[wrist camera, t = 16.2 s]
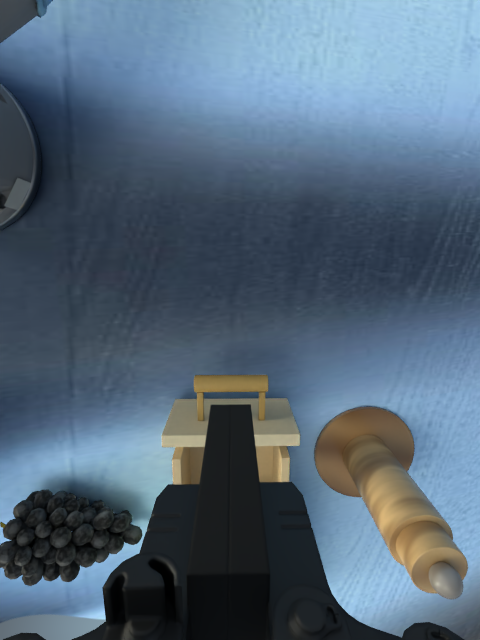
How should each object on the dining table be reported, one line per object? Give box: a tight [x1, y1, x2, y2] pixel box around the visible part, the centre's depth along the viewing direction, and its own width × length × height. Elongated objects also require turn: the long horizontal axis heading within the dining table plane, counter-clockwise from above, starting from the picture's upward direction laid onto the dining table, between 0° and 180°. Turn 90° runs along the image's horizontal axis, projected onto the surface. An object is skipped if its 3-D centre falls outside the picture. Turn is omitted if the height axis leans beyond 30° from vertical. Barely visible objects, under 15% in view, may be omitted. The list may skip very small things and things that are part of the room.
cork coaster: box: [314, 407, 414, 497], centre depth 40 cm, size 12×12×1 cm
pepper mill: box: [343, 435, 468, 599], centre depth 31 cm, size 5×5×16 cm
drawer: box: [162, 375, 300, 484], centre depth 34 cm, size 20×13×7 cm, turn 0°
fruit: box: [0, 490, 142, 586], centre depth 37 cm, size 9×8×15 cm
